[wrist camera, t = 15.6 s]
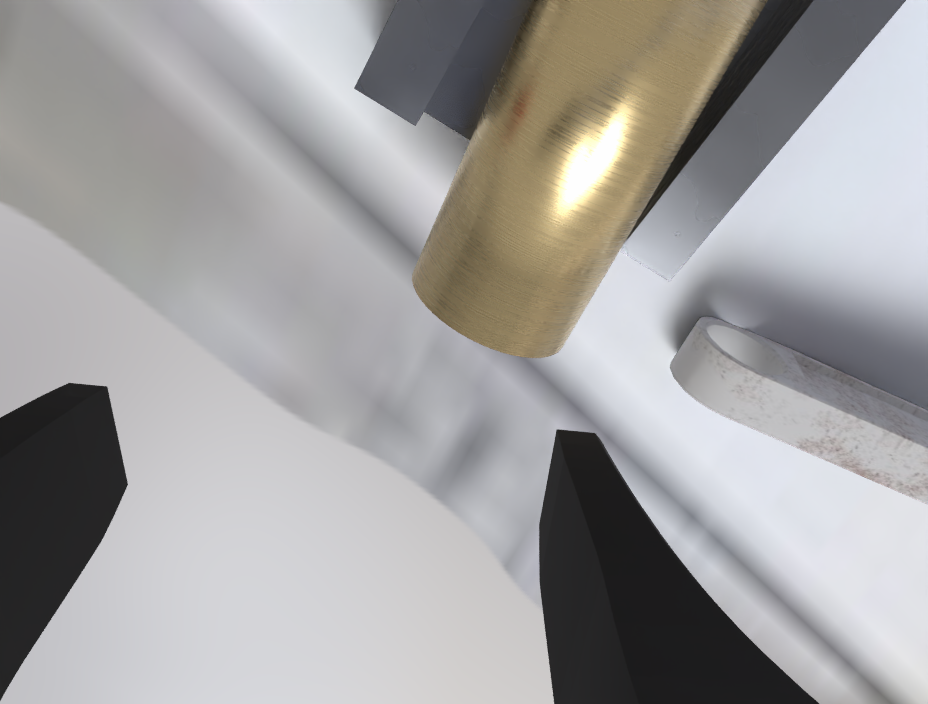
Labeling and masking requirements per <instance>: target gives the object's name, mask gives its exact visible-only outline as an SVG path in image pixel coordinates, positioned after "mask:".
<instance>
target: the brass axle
mask: <svg viewBox="0 0 928 704" xmlns="http://www.w3.org/2000/svg"><path fill="white" fill-rule="evenodd" d="M767 1H768V0H531V2H530V4H529V6H528V9H527V11H526V13H525V16H524V18H523V20H522V23H521V25H520V27H519V29H518V32H517V34H516V36H515V39H514V41H513V43H512V46H511V48H510V50H509V53H508V55H507V57H506V59H505V62H504V64H503V66H502V69H501V71H500V73H499V76H498V78H497V80H496V82H495V85H494V87H493V89H492V92H491V94H490V96H489V99H488V101H487V103H486V105H485V108H484V110H483V112H482V115H481V117H480V119H479V122H478V124H477V126H476V129H475V131H474V133H473V135H472V138H471V140H470V142H469V145H468V147H467V149H466V152H465V154H464V156H463V158H462V161H461V163H460V165H459V168H458V170H457V172H456V175H455V177H454V179H453V181H452V184H451V186H450V188H449V191H448V193H447V195H446V198H445V200H444V202H443V205H442V207H441V209H440V211H439V214H438V216H437V218H436V221H435V223H434V225H433V228H432V230H431V232H430V234H429V237H428V239H427V241H426V244H425V246H424V248H423V251H422V253H421V255H420V257H419V260H418V262H417V264H416V267H415V269H414V272H413V275H412V281H413V286H414V288H415V291H416V293H417V294H418V296H419V298H420V299H421V300H422V302H423V303H424V304H425V305H426V307H427V308H428V309H429V310H430V311H431V312H432V313H433V314H434V315H436V316H437V317H438V318H439V319H440V320H441V321H443V322H444V323H445V324H447V325H448V326H449V327H451V328H452V329H454V330H456V331H457V332H459V333H460V334H462V335H464V336H466V337H467V338H469V339H471V340H473V341H475V342H477V343H479V344H481V345H484V346H486V347H489V348H491V349H494V350H497V351H500V352H503V353H506V354H510V355H514V356H520V357H528V358H542V357H548V356H551V355H554V354H556V353H557V352H559V351H560V350H561V349H562V347H563V345H564V344H565V342H566V340H567V339H568V337H569V335H570V333H571V332H572V330H573V328H574V327H575V325H576V323H577V322H578V320H579V318H580V317H581V315H582V313H583V311H584V310H585V308H586V306H587V305H588V303H589V301H590V300H591V298H592V296H593V295H594V293H595V291H596V290H597V288H598V286H599V284H600V283H601V281H602V279H603V278H604V276H605V274H606V273H607V271H608V269H609V268H610V266H611V264H612V263H613V261H614V259H615V257H616V256H617V254H618V252H619V251H620V249H621V247H622V246H623V244H624V242H625V241H626V239H627V237H628V236H629V234H630V232H631V230H632V229H633V227H634V225H635V224H636V222H637V220H638V219H639V217H640V215H641V214H642V212H643V210H644V208H645V207H646V205H647V203H648V202H649V200H650V198H651V197H652V195H653V193H654V192H655V190H656V188H657V187H658V185H659V183H660V181H661V180H662V178H663V176H664V175H665V173H666V171H667V170H668V168H669V166H670V165H671V163H672V161H673V160H674V158H675V156H676V154H677V153H678V151H679V149H680V148H681V146H682V144H683V143H684V141H685V139H686V138H687V136H688V134H689V133H690V131H691V129H692V127H693V126H694V124H695V122H696V121H697V119H698V117H699V116H700V114H701V112H702V111H703V109H704V107H705V105H706V104H707V102H708V100H709V99H710V97H711V95H712V94H713V92H714V90H715V89H716V87H717V85H718V84H719V82H720V80H721V78H722V77H723V75H724V73H725V72H726V70H727V68H728V67H729V65H730V63H731V62H732V60H733V58H734V57H735V55H736V53H737V51H738V50H739V48H740V46H741V45H742V43H743V41H744V40H745V38H746V36H747V35H748V33H749V31H750V30H751V28H752V26H753V24H754V23H755V21H756V19H757V18H758V16H759V14H760V13H761V11H762V9H763V8H764V6H765V4H766V2H767Z"/></svg>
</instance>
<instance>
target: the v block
mask: <svg viewBox="0 0 928 704" xmlns="http://www.w3.org/2000/svg"><path fill="white" fill-rule="evenodd" d="M905 1H906V0H768V1H767V2H766V4H765V6H764V8H763V9H762V11H761V13H760V14H759V16H758V18H757V19H756V21H755V23H754V24H753V26H752V28H751V30H750V31H749V33H748V35H747V36H746V38H745V40H744V41H743V43H742V45H741V46H740V48H739V50H738V51H737V53H736V55H735V57H734V58H733V60H732V62H731V63H730V65H729V67H728V68H727V70H726V72H725V73H724V75H723V77H722V78H721V80H720V82H719V84H718V85H717V87H716V89H715V90H714V92H713V94H712V95H711V97H710V99H709V100H708V102H707V104H706V105H705V107H704V109H703V111H702V112H701V114H700V116H699V117H698V119H697V121H696V122H695V124H694V126H693V127H692V129H691V131H690V133H689V134H688V136H687V138H686V139H685V141H684V143H683V144H682V146H681V148H680V149H679V151H678V153H677V154H676V156H675V158H674V160H673V161H672V163H671V165H670V166H669V168H668V170H667V171H666V173H665V175H664V176H663V178H662V180H661V181H660V183H659V185H658V187H657V188H656V190H655V192H654V193H653V195H652V197H651V198H650V200H649V202H648V203H647V205H646V207H645V208H644V210H643V212H642V214H641V215H640V217H639V219H638V220H637V222H636V224H635V225H634V227H633V229H632V230H631V232H630V234H629V236H628V237H627V239H626V241H625V242H624V244H623V246H622V247H621V249H620V252H622V253H624V254H625V255H627V256H628V257H630V258H632V259H633V260H635V261H637V262H638V263H640V264H642V265H643V266H645V267H646V268H648V269H650V270H651V271H653V272H655V273H656V274H658V275H659V276H661V277H663V278H664V279H666V280H668V281H669V282H670V281H671V279H672V278H673V277H674V276H675V275H676V273H677V272H678V271H679V270H680V269H681V268H682V266H683V265H684V264H685V263H686V262H687V260H688V259H689V258H690V257H691V256H692V254H693V253H694V252H695V251H696V250H697V248H698V247H699V246H700V245H701V244H702V243H703V241H704V240H705V239H706V238H707V237H708V235H709V234H710V233H711V232H712V231H713V229H714V228H715V227H716V226H717V225H718V223H719V222H720V221H721V220H722V219H723V218H724V216H725V215H726V214H727V213H728V212H729V210H730V209H731V208H732V207H733V206H734V204H735V203H736V202H737V201H738V200H739V198H740V197H741V196H742V195H743V194H744V193H745V191H746V190H747V189H748V188H749V187H750V185H751V184H752V183H753V182H754V181H755V179H756V178H757V177H758V176H759V175H760V173H761V172H762V171H763V170H764V169H765V168H766V166H767V165H768V164H769V163H770V162H771V160H772V159H773V158H774V157H775V156H776V154H777V153H778V152H779V151H780V150H781V148H782V147H783V146H784V145H785V144H786V143H787V141H788V140H789V139H790V138H791V137H792V135H793V134H794V133H795V132H796V131H797V129H798V128H799V127H800V126H801V125H802V123H803V122H804V121H805V120H806V119H807V118H808V116H809V115H810V114H811V113H812V112H813V110H814V109H815V108H816V107H817V106H818V104H819V103H820V102H821V101H822V100H823V98H824V97H825V96H826V95H827V94H828V93H829V91H830V90H831V89H832V88H833V87H834V85H835V84H836V83H837V82H838V81H839V79H840V78H841V77H842V76H843V75H844V73H845V72H846V71H847V70H848V69H849V68H850V66H851V65H852V64H853V63H854V62H855V60H856V59H857V58H858V57H859V56H860V54H861V53H862V52H863V51H864V50H865V48H866V47H867V46H868V45H869V44H870V43H871V41H872V40H873V39H874V38H875V37H876V35H877V34H878V33H879V32H880V31H881V29H882V28H883V27H884V26H885V25H886V24H887V22H888V21H889V20H890V19H891V18H892V16H893V15H894V14H895V13H896V12H897V10H898V9H899V8H900V7H901V6H902V4H903V3H904V2H905ZM530 2H531V0H398V1H397V3H396V5H395V7H394V9H393V11H392V13H391V15H390V17H389V19H388V21H387V23H386V25H385V27H384V29H383V31H382V33H381V35H380V37H379V39H378V41H377V44H376V46H375V48H374V50H373V52H372V54H371V56H370V58H369V60H368V62H367V64H366V66H365V68H364V70H363V72H362V74H361V76H360V78H359V80H358V82H357V84H356V86H355V88H354V89H356V90H358V91H359V92H361V93H363V94H364V95H366V96H367V97H369V98H371V99H372V100H374V101H376V102H377V103H379V104H380V105H382V106H384V107H385V108H387V109H389V110H390V111H392V112H394V113H395V114H397V115H398V116H400V117H402V118H403V119H405V120H407V121H408V122H410V123H411V124H413V125H415V126H416V124H417V122H418V121H419V119H420V117H421V115H422V113H423V112H426V113H427V114H429V115H430V116H432V117H434V118H435V119H437V120H438V121H440V122H442V123H443V124H445V125H446V126H448V127H450V128H451V129H453V130H455V131H456V132H458V133H459V134H461V135H463V136H464V137H466V138H467V139H469V140H471V138H472V135H473V133H474V131H475V129H476V126H477V124H478V122H479V119H480V117H481V115H482V112H483V110H484V108H485V105H486V103H487V101H488V99H489V96H490V94H491V92H492V89H493V87H494V85H495V82H496V80H497V78H498V76H499V73H500V71H501V69H502V66H503V64H504V62H505V59H506V57H507V55H508V53H509V50H510V48H511V46H512V43H513V41H514V39H515V36H516V34H517V32H518V29H519V27H520V25H521V23H522V20H523V18H524V16H525V13H526V11H527V9H528V6H529V4H530Z"/></svg>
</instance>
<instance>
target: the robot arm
mask: <svg viewBox="0 0 928 704" xmlns="http://www.w3.org/2000/svg"><path fill="white" fill-rule="evenodd" d="M127 485H128V484H127V478H126V474H125V469H124V465H123V459H122V455H121V450H120V445H119V440H118V436H117V431H116V426H115V422H114V417H113V412H112V408H111V403H110V398H109V393H108V388H107V387H106V386H95V385H84V384H74V383H68V384H66V385H64V386H62V387H59V388H57V389H55V390H53V391H51V392H49V393H47V394H45V395H43V396H41V397H39V398H37V399H35V400H33V401H31V402H29V403H27V404H25V405H23V406H21V407H20V408H18V409H16V410H14V411H12V412H10V413H8V414H6V415H5V416H3V417H1V418H0V700H1V698H2V696H3V694H4V693H5V691H6V689H7V687H8V686H9V684H10V683H11V681H12V679H13V678H14V676H15V674H16V672H17V671H18V669H19V668H20V666H21V664H22V663H23V661H24V659H25V658H26V657H27V655H28V654H29V652H30V651H31V649H32V647H33V646H34V644H35V643H36V641H37V640H38V638H39V637H40V635H41V633H42V632H43V631H44V629H45V627H46V626H47V624H48V623H49V621H50V620H51V618H52V617H53V615H54V614H55V612H56V611H57V609H58V608H59V606H60V604H61V603H62V601H63V600H64V599H65V597H66V596H67V594H68V592H69V591H70V589H71V588H72V586H73V585H74V583H75V582H76V580H77V579H78V577H79V575H80V574H81V572H82V571H83V569H84V568H85V566H86V564H87V563H88V561H89V560H90V558H91V557H92V555H93V554H94V552H95V550H96V549H97V547H98V545H99V544H100V542H101V541H102V539H103V537H104V535H105V533H106V531H107V528H108V527H109V525H110V523H111V520H112V519H113V516H114V514H115V512H116V510H117V508H118V505H119V503H120V501H121V499H122V496H123V494H124V492H125V490H126V487H127ZM539 562H540V589H541V598H542V606H543V614H544V623H545V631H546V639H547V648H548V656H549V664H550V672H551V680H552V688H553V696H554V704H819V703H818V702H817V701H816V700H814V699H813V698H812V697H811V696H810V695H809V694H808V693H806V692H805V691H804V690H803V689H802V688H801V687H800V686H799V685H798V684H796V683H795V682H794V681H793V680H792V679H791V678H790V677H789V676H788V675H787V674H786V673H785V672H784V671H783V670H781V669H780V668H779V667H778V666H777V665H776V664H775V663H774V662H773V661H772V660H771V659H770V658H769V657H768V656H766V655H765V654H764V653H763V652H762V651H761V650H760V649H759V648H758V647H757V646H756V645H755V644H754V643H753V642H752V641H751V640H750V639H749V638H748V637H747V636H746V635H745V634H744V633H743V632H742V631H741V630H740V629H739V628H738V627H737V626H736V624H735V623H734V622H733V621H732V620H731V619H730V618H729V617H728V616H727V615H726V614H725V613H724V611H723V610H722V609H721V608H720V607H719V606H718V605H717V604H716V603H715V602H714V600H713V599H712V598H711V597H710V596H709V595H708V594H707V592H706V591H705V590H704V589H703V588H702V586H701V585H700V584H699V583H698V582H697V580H696V579H695V578H694V577H693V576H692V574H691V573H690V572H689V570H688V569H687V568H686V567H685V565H684V564H683V563H682V562H681V560H680V559H679V558H678V556H677V555H676V554H675V553H674V551H673V550H672V549H671V547H670V546H669V545H668V543H667V542H666V541H665V539H664V538H663V537H662V535H661V534H660V532H659V531H658V529H657V528H656V527H655V525H654V524H653V522H652V521H651V519H650V518H649V517H648V515H647V514H646V512H645V511H644V509H643V508H642V507H641V505H640V504H639V502H638V500H637V499H636V497H635V496H634V494H633V493H632V491H631V490H630V488H629V487H628V485H627V483H626V482H625V480H624V479H623V477H622V475H621V474H620V472H619V471H618V469H617V467H616V466H615V464H614V462H613V461H612V459H611V457H610V455H609V454H608V452H607V450H606V449H605V447H604V445H603V443H602V442H601V440H600V439H599V437H598V436H597V435H596V434H595V433H589V432H578V431H568V430H557V431H556V437H555V442H554V448H553V453H552V459H551V464H550V469H549V475H548V480H547V486H546V491H545V497H544V502H543V507H542V513H541V518H540V524H539Z"/></svg>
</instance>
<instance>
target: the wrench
mask: <svg viewBox="0 0 928 704" xmlns="http://www.w3.org/2000/svg"><path fill="white" fill-rule="evenodd" d="M670 369H671V372H672V374H673V377H674V379H675V380H676V381H677V382H678V384H679V385H680V386H681V387H682V388H683V390H684V391H685V392H686V393H687V394H689V395H690V396H691V397H692V398H694V399H695V400H696V401H698V402H699V403H701V404H702V405H704V406H705V407H707V408H708V409H710V410H712V411H714V412H716V413H718V414H720V415H722V416H724V417H726V418H728V419H731V420H733V421H736V422H738V423H740V424H743V425H745V426H747V427H750V428H752V429H754V430H756V431H759V432H761V433H763V434H766V435H768V436H770V437H773V438H775V439H777V440H780V441H782V442H784V443H787V444H789V445H791V446H793V447H796V448H798V449H800V450H803V451H805V452H807V453H810V454H812V455H814V456H817V457H819V458H821V459H824V460H826V461H828V462H831V463H833V464H835V465H837V466H840V467H842V468H844V469H847V470H849V471H851V472H854V473H856V474H858V475H861V476H863V477H865V478H868V479H870V480H872V481H875V482H877V483H879V484H881V485H884V486H886V487H888V488H891V489H893V490H895V491H898V492H900V493H902V494H905V495H907V496H909V497H912V498H914V499H916V500H919V501H921V502H923V503H925V504H928V410H926V409H924V408H921V407H919V406H917V405H915V404H912V403H910V402H908V401H906V400H903V399H901V398H899V397H897V396H894V395H892V394H890V393H888V392H885V391H883V390H881V389H879V388H877V387H874V386H872V385H870V384H868V383H865V382H863V381H861V380H859V379H857V378H854V377H852V376H850V375H848V374H846V373H843V372H841V371H839V370H837V369H834V368H832V367H830V366H828V365H826V364H823V363H821V362H819V361H817V360H815V359H812V358H810V357H808V356H806V355H803V354H801V353H799V352H797V351H795V350H792V349H790V348H788V347H786V346H783V345H781V344H779V343H776V342H774V341H772V340H770V339H768V338H765V337H762V336H760V335H757V334H755V333H752V332H750V331H747V330H745V329H742V328H739V327H736V326H734V325H732V324H729V323H727V322H724V321H722V320H719V319H717V318H714V317H700V319H699V320H698V321H697V323H696V324H695V326H694V327H693V329H692V330H691V332H690V334H689V335H688V337H687V338H686V340H685V341H684V343H683V344H682V346H681V347H680V349H679V351H678V352H677V354H676V355H675V357H674V358H673V360H672V361H671V364H670Z"/></svg>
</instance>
